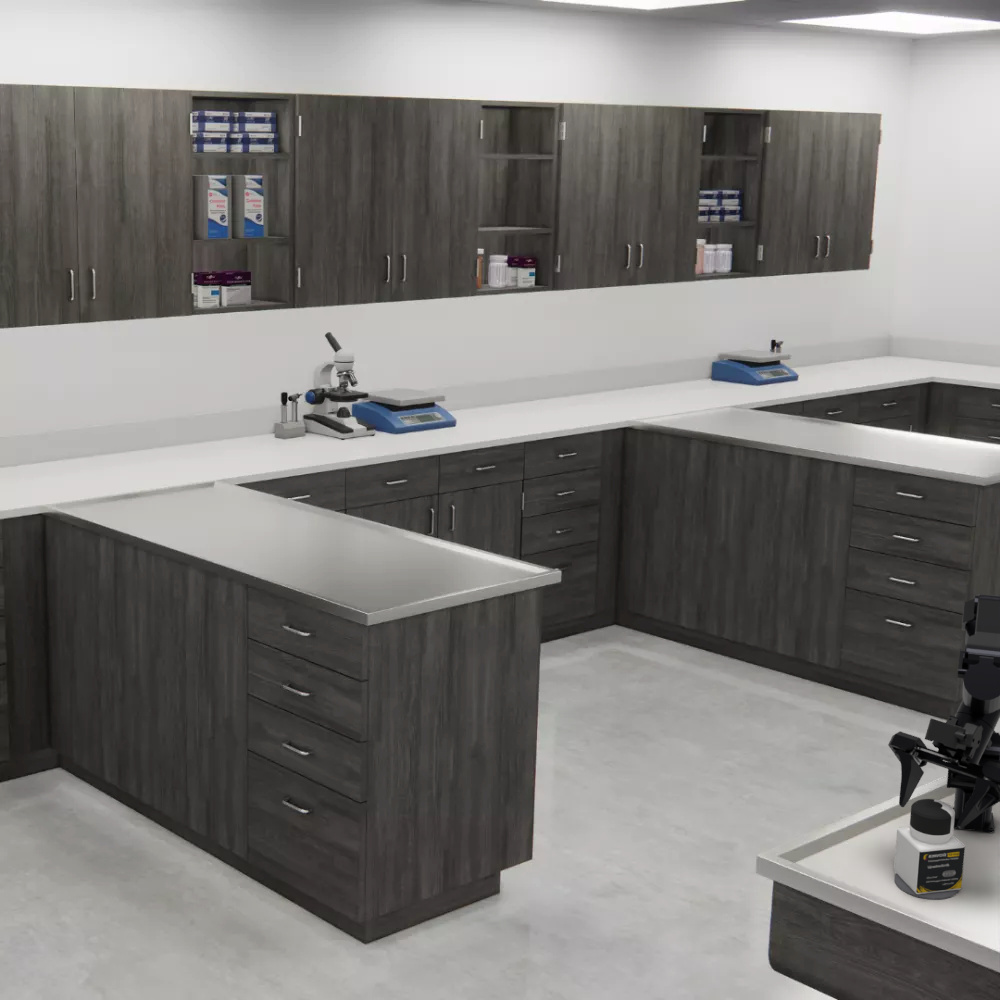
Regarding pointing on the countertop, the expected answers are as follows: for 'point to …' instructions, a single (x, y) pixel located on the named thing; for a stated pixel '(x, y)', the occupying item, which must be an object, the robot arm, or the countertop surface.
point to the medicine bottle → (930, 849)
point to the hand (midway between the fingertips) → (929, 816)
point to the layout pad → (933, 896)
